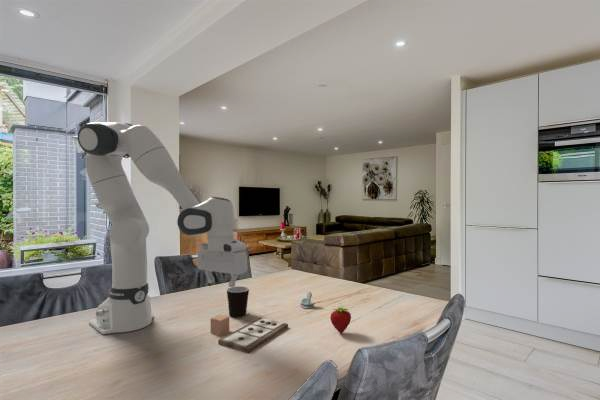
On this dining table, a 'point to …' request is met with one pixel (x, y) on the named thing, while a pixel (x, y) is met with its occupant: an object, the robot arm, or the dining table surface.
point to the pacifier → (307, 301)
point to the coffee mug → (237, 301)
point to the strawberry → (340, 319)
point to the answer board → (253, 334)
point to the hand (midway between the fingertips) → (221, 284)
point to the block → (219, 324)
